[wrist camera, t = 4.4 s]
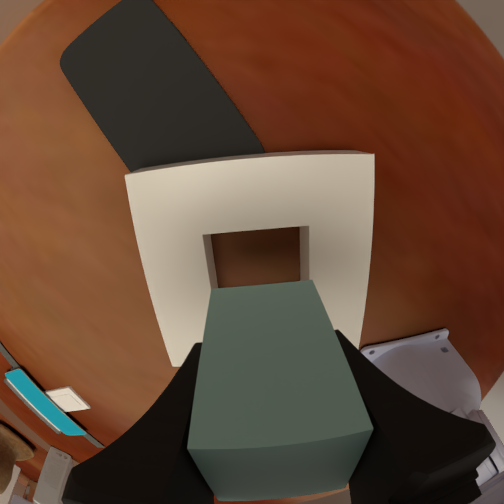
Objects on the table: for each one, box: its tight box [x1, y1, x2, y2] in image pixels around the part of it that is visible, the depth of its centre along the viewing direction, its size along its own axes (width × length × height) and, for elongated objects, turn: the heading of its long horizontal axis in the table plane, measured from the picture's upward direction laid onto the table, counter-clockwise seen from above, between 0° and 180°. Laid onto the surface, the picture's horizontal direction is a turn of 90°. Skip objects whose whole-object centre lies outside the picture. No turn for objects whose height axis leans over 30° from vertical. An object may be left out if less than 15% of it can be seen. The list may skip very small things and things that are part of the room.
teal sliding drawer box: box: [0, 343, 105, 448], centre depth 26 cm, size 20×12×2 cm, turn 25°
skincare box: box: [33, 446, 74, 504], centre depth 27 cm, size 6×4×12 cm
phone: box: [60, 0, 265, 172], centre depth 15 cm, size 7×1×15 cm
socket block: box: [125, 150, 374, 367], centre depth 18 cm, size 13×13×3 cm
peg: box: [187, 280, 373, 501], centre depth 9 cm, size 4×4×7 cm
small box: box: [23, 480, 37, 504], centre depth 42 cm, size 8×6×10 cm
